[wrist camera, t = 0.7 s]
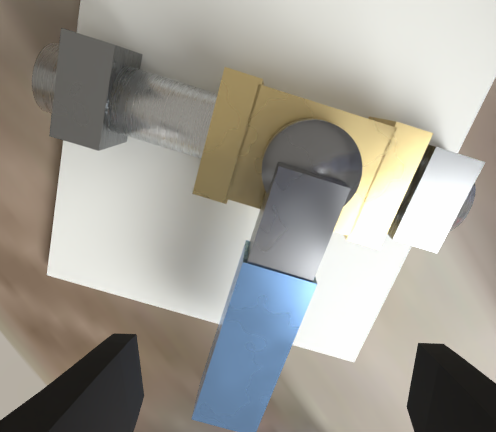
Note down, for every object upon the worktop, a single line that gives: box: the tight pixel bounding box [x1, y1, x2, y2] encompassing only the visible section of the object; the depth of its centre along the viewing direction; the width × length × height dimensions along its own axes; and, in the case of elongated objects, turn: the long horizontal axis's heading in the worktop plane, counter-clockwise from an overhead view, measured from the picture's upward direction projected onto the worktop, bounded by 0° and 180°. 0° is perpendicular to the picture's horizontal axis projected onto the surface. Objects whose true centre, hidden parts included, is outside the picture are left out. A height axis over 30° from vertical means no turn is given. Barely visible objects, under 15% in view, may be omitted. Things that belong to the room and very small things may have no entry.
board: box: [47, 0, 496, 362], centre depth 17 cm, size 18×19×1 cm
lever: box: [192, 118, 362, 432], centre depth 14 cm, size 13×3×2 cm, turn 163°
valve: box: [32, 28, 485, 253], centre depth 15 cm, size 18×5×4 cm, turn 73°
